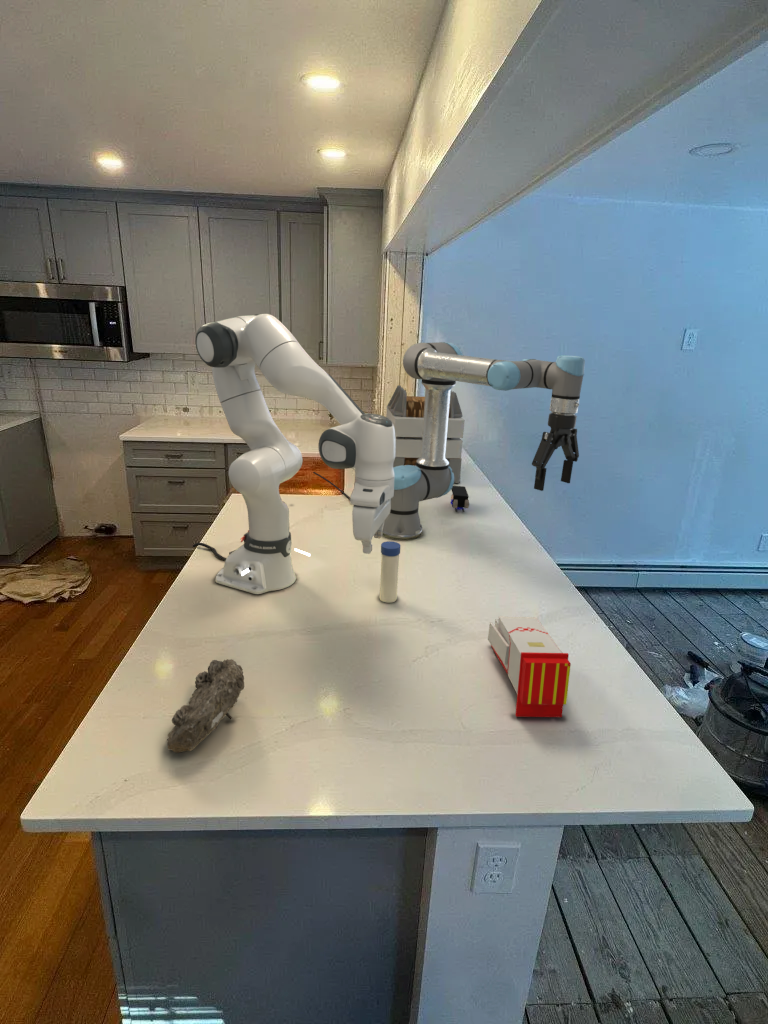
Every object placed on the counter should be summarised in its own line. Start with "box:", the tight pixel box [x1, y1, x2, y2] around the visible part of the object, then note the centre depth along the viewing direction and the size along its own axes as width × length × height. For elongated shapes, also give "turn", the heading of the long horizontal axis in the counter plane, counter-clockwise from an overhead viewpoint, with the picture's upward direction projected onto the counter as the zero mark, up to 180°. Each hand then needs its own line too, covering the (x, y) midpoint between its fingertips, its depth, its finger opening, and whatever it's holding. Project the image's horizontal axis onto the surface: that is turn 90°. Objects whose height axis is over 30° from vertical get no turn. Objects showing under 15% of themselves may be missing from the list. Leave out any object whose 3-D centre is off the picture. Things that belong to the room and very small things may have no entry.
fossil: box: [166, 658, 245, 754], centre depth 106 cm, size 22×10×15 cm
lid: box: [380, 540, 401, 556], centre depth 150 cm, size 5×5×2 cm
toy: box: [487, 616, 572, 718], centre depth 123 cm, size 12×13×30 cm
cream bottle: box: [379, 553, 400, 603], centre depth 153 cm, size 5×5×16 cm
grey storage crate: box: [385, 384, 465, 484], centre depth 268 cm, size 34×33×41 cm
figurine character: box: [450, 485, 470, 513], centre depth 227 cm, size 7×8×15 cm
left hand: (372, 544), depth 132 cm, fingers open, 8 cm apart
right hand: (552, 485), depth 166 cm, fingers open, 13 cm apart
